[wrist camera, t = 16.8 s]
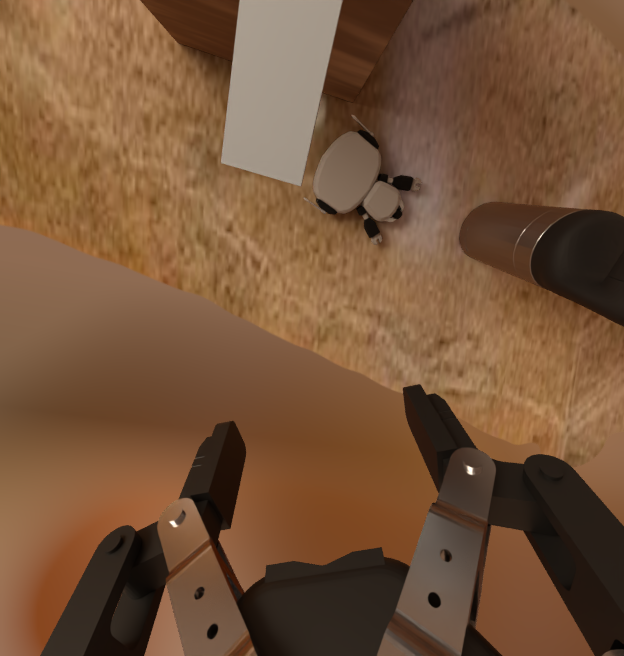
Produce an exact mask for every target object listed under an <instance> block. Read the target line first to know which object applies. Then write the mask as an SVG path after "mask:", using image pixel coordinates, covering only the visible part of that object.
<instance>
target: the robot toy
mask: <svg viewBox="0 0 624 656" xmlns="http://www.w3.org/2000/svg"><path fill="white" fill-rule="evenodd" d="M351 115H352V114H351ZM352 118H353V119H354V120H356V121H357V122H358V123H359V124H360V125H361V126H362V127H363V128H364V129H365V130H366V131H367V132H366V131H363V130H359V131H358V132H352V131H349V132H347V133H345V134H343V135H341V136H340V137H339V138H337V139H336V140H335V141H334V142H333V143H332V144H331V146H330V147H329V148H328V149H327V151H326V152H325V153H324V154H323V156H322V157H321V160H320V162H319V165H318V167H317V170H316V172H315V176H314V180H313V192H314V193H315V195H316V197H317V199H316V202H317V204H318V205H319V207H320V208H321V209H320V208H319V207H317V206H316V205H315V204H313V203H312V202H310V201H309V200H308V199H306V198H304V197H303V198H304V200H306V201H307V202H309V203H311V204H312V205H314V206H315V207H316V208H318V209H319V210H321V212H323V213H324V214H325V213H326V212H327V213H329V214H334V215H335V214H337V213H344V214H345V213H347V212H350V211H352V210H353V209H354V208H356V207H357V206H358V205H359V204H360V205H361V206H359V207H358V208H357V211H358V213H359V215H361V216H363V218H364V229H365V230H366V232H367V234H368V236H369V238H371V242H372V243H373V244H374V245H377V244H378V243H377V241H376V240H377V239H378V240H379V242H381V241H382V235H380V234H379V233H380V231H379V229H378V227H377V225H376V223H375V221H373V220H372V219H371V218H369V217H368V215H370V216H371V217H372V218H373V219H375V220H377V221H381V222H382V221H388V222H393V221H395V220H397V219H399V218H400V217H401V216H402V212H401V211H403V208H404V204H403V202H402V200H401V195H400V193H399V191H398V189H400V190H406V191H409V190H410V189H411V190H412V191H418V190H419V189H420V187H416V184H421V183H422V182H421V180H420V179H418V178H415V179H413V178H412V177H409V176H403V175H400V176H397V177H394V178H388V175H387V174H381V173H380V174H379V176H378V173H379V171H380V167H381V155H380V153H379V151H378V148H379V145H378V143H377V141H376V139H375V138H374V137H373V136H374V134H373V133H372V132H371V131H369V130H368V129H367V128H366V127H365V126H364V125H363V124H362V123H361V122H360V121H359V120H358V119H357V117H356V116H355V115H352ZM377 176H378V181H376V179H377ZM387 183H390V184H392V185H393V186H394V187H396V188H397V189H396V188H394V187H393V186H391V185H389V184H387ZM400 210H401V211H400ZM367 214H368V215H367ZM391 216H392V217H394V218H395V219H394V218H392V217H391Z"/></svg>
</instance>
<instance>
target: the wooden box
mask: <svg viewBox="0 0 624 656" xmlns="http://www.w3.org/2000/svg"><path fill="white" fill-rule="evenodd" d="M239 1H240V0H141V2H142V3H143V4H144V5H145V6H146V7H147V8H148V10H149V11H150V12H151V13H152V14H153V15H154V16H155V18H156V19H157V20H158V21H159V22H160V23H161V24H162V25H163V27H164V28H165V29H166V30H167V31H168V32H169V33H170V35H171V36H172V37H173V38H174V39H175V40H176V41H177V42H178V43H180V44H183V45H186V46H189V47H192V48H195V49H198V50H201V51H204V52H207V53H209V54H212V55H215V56H218V57H221V58H224V59H227V60H230V61H233V54H234V45H235V36H236V27H237V19H238V10H239ZM412 2H413V0H343V3H342V7H341V12H340V16H339V21H338V25H337V29H336V34H335V38H334V43H333V47H332V52H331V56H330V61H329V65H328V69H327V74H326V78H325V83H324V87H323V93H326V94H328V95H331V96H334V97H337V98H340V99H343V100H346V101H349V102H352V103H353V102H354V100H355V98H356V97H357V95H358V93H359V92H360V90H361V88H362V87H363V85H364V83H365V82H366V80H367V78H368V76H369V75H370V73H371V71H372V70H373V68H374V66H375V65H376V63H377V61H378V59H379V58H380V56H381V54H382V53H383V51H384V49H385V48H386V46H387V44H388V43H389V41H390V39H391V37H392V36H393V34H394V32H395V31H396V29H397V27H398V26H399V24H400V22H401V20H402V19H403V17H404V15H405V14H406V12H407V10H408V9H409V7H410V5H411V4H412Z"/></svg>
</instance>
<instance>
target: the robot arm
mask: <svg viewBox="0 0 624 656" xmlns="http://www.w3.org/2000/svg"><path fill="white" fill-rule="evenodd" d="M459 239H460V245H461V248H462V250H463V251H464V253H466V254H467V255H468V256H470V257H472V258H474V259H476V260H479V261H481V262H483V263H485V264H488V265H490V266H492V267H495V268H497V269H499V270H502V271H504V272H507V273H509V274H511V275H514V276H516V277H518V278H521V279H523V280H525V281H528V282H530V283H533V284H535V285H538V286H540V287H542V288H545V289H547V290H550V291H552V292H554V293H556V294H558V295H560V296H563V297H565V298H567V299H569V300H572V301H574V302H576V303H578V304H580V305H582V306H584V307H586V308H588V309H590V310H592V311H594V312H596V313H598V314H600V315H602V316H604V317H605V318H607V319H609V320H611V321H613V322H615V323H617V324H619V325H622V326H624V217H623V216H621V215H619V214H617V213H614V212H609V211H602V210H587V209H575V208H561V207H549V206H537V205H525V204H514V203H502V202H490V203H486V204H483V205H481V206H479V207H478V208H476V209H475V210H473V211H472V212H471V213H470V214H469V215H468V217H467V218H466V219H465V221H464V223H463V225H462V227H461V231H460V237H459ZM403 395H404V403H405V413H406V418H407V421H408V424H409V427H410V429H411V432H412V434H413V436H414V438H415V440H416V443H417V445H418V447H419V450H420V452H421V454H422V456H423V459H424V461H425V463H426V466H427V468H428V470H429V472H430V475H431V477H432V479H433V481H434V484H435V486H436V488H437V491H438V493H439V495H438V498H437V501H436V503H432V505H431V506H430V509H429V512H428V514H427V518H426V521H425V524H424V527H423V529H422V533H421V536H420V538H419V541H418V545H417V547H416V550H415V553H414V557H413V559H412V563H411V565H410V566H408V565H407V564H405V563H403V562H400V561H398V560H395V559H391V558H387V557H384V556H383V551H382V548H381V547H380V548H374V549H368V550H361V551H355V552H351V553H349V554H347V555H345V556H343V557H341V558H339V559H337V560H335V561H333V562H331V563H329V564H327V565H323V566H321V565H315V564H309V563H302V562H296V561H292V562H285V563H279V564H273V565H267V566H266V575H265V577H263V578H262V579H261V580H259V581H257V582H256V583H255V584H253V585H252V586H251V587H250V588H249V589H248V590H247V591H246V592H244V590H243V589H242V587H241V585H240V583H239V581H238V579H237V577H236V575H235V573H234V571H233V569H232V567H231V565H230V563H229V561H228V558H227V556H226V554H225V552H224V550H223V548H222V546H221V544H220V542H219V540H218V538H219V534H220V530H225V529H230V528H231V523H232V518H233V514H234V509H235V505H236V500H237V495H238V491H239V486H240V481H241V477H242V472H243V467H244V462H245V457H246V447H245V443H244V441H243V439H242V437H241V435H240V433H239V430H238V428H237V426H236V424H235V422H234V421H229V422H224V423H219V424H217V425H216V426H215V429H214V431H213V434H212V436H211V437H207V438H206V439H205V441H204V442H203V443H202V444H201V446H200V447H199V449H198V452H197V454H196V457H195V458H196V459H195V460H194V462H193V464H192V468H191V470H190V472H189V475H188V477H187V479H186V482H185V485H184V487H183V489H182V492H181V495H180V497H179V499H178V500H177V501H175V502H173V503H172V504H171V505H169V506H168V507H167V508H166V509H165V510H164V512H163V513H162V515H161V516H160V518H159V521H157V522H155V523H153V524H151V525H149V526H147V527H145V528H143V529H141V530H139V531H137V532H136V531H135V529H134V528H133V527H132V526H129V525H126V526H122V527H119V528H117V529H115V530H114V531H112V532H111V533H110V534H109V535H107V536H106V537H105V538H104V540H103V541H102V542H101V543H100V544H99V546H98V547H97V549H96V551H95V553H94V555H93V556H92V558H91V560H90V562H89V564H88V566H87V568H86V570H85V572H84V574H83V575H82V578H81V579H80V581H79V583H78V585H77V587H76V589H75V591H74V593H73V595H72V596H71V599H70V600H69V602H68V604H67V606H66V608H65V610H64V612H63V613H62V616H61V618H60V619H59V621H58V623H57V625H56V627H55V629H54V631H53V632H52V634H51V636H50V638H49V640H48V642H47V644H46V646H45V648H44V650H43V651H42V654H41V655H40V656H144V654H145V651H146V648H147V644H148V641H149V638H150V635H151V631H152V628H153V624H154V621H155V618H156V615H157V611H158V608H159V604H160V602H161V598H162V595H163V592H164V588H165V585H167V588H168V593H169V596H170V600H171V604H172V608H173V612H174V616H175V620H176V624H177V627H178V631H179V635H180V639H181V643H182V647H183V651H184V655H185V656H502V655H501V654H500V653H499V652H498V651H497V650H496V649H495V648H494V647H493V646H492V645H491V644H490V643H489V642H488V641H487V640H486V639H485V638H484V637H483V636H482V635H481V634H480V633H479V632H478V631H477V630H476V629H475V628H476V622H477V616H478V610H479V604H480V597H481V590H482V582H483V574H484V568H485V562H486V556H487V549H488V543H489V537H490V532H491V525H495V526H501V527H506V528H513V529H518V530H523V531H524V533H525V535H526V536H527V538H528V540H529V542H530V543H531V545H532V547H533V549H534V550H535V552H536V554H537V556H538V557H539V559H540V561H541V563H542V564H543V566H544V568H545V570H546V571H547V573H548V575H549V577H550V578H551V580H552V582H553V584H554V585H555V587H556V589H557V591H558V592H559V594H560V596H561V598H562V599H563V601H564V603H565V604H566V606H567V608H568V610H569V611H570V613H571V615H572V616H573V618H574V620H575V622H576V624H577V625H578V627H579V629H580V631H581V632H582V634H583V636H584V637H585V639H586V641H587V643H588V644H589V646H590V648H591V650H592V652H593V653H594V655H595V656H624V526H623V525H622V524H621V523H620V522H619V520H618V519H617V518H616V517H615V516H614V515H613V514H612V512H611V511H610V510H609V509H608V508H607V507H606V506H605V504H604V503H603V502H602V501H601V500H600V499H599V498H598V496H597V495H596V494H595V493H594V492H593V491H592V490H591V488H590V487H589V486H588V485H587V484H586V483H585V481H584V480H583V479H582V478H581V477H580V476H579V475H578V473H577V472H576V471H575V470H574V469H573V468H572V467H571V466H570V465H568V464H567V463H566V462H564V461H562V460H560V459H558V458H556V457H553V456H549V455H543V454H538V455H532V456H530V457H528V458H527V459H526V461H525V462H524V464H517V463H508V462H501V461H497V460H494V459H491V458H490V457H489V456H488V455H487V454H486V453H484V452H482V451H480V450H478V449H477V448H476V446H475V445H474V443H473V442H472V441H471V439H470V437H469V436H468V434H467V433H466V431H465V430H464V428H463V427H462V425H461V424H460V422H459V421H458V419H456V416H455V415H454V413H453V412H452V411H451V409H450V407H449V406H448V404H447V403H446V401H445V400H444V399H442V398H441V397H440V396H438V395H437V394H435V393H434V394H429V395H426V393H425V392H424V390H423V388H422V386H421V385H420V384H418V385H413V386H408V387H403ZM122 592H123V593H122ZM120 597H121V598H120ZM118 602H119V603H118ZM116 607H117V608H116ZM115 609H116V610H115ZM114 612H115V613H114ZM113 614H114V615H113ZM112 617H113V618H112Z"/></svg>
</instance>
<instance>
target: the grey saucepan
mask: <svg viewBox="0 0 624 656" xmlns="http://www.w3.org/2000/svg"><path fill="white" fill-rule="evenodd" d="M342 3H343V0H240V1H239V10H238V19H237V27H236V36H235V45H234V54H233V62H232V71H231V80H230V89H229V97H228V106H227V115H226V124H225V133H224V141H223V150H222V159H221V163H223V164H227V165H230V166H233V167H237V168H240V169H244V170H247V171H250V172H254V173H257V174H261V175H264V176H267V177H271V178H274V179H278V180H281V181H284V182H288V183H291V184H294V185H298V186H301V185H302V181H303V176H304V172H305V167H306V163H307V158H308V154H309V150H310V145H311V141H312V136H313V132H314V127H315V123H316V118H317V114H318V110H319V105H320V101H321V96H322V92H323V87H324V83H325V78H326V74H327V69H328V65H329V61H330V56H331V52H332V47H333V43H334V38H335V34H336V29H337V25H338V21H339V16H340V12H341V7H342Z"/></svg>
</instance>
